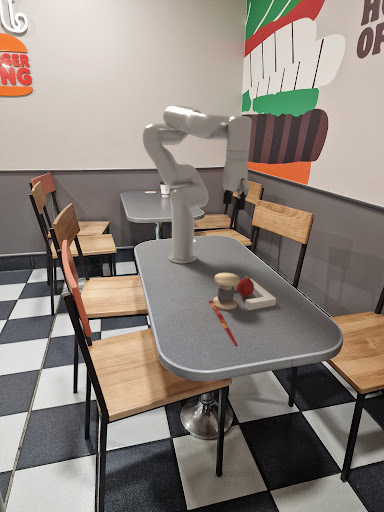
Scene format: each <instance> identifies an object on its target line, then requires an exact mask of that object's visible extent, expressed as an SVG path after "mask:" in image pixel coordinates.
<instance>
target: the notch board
mask: <svg viewBox="0 0 384 512" xmlns="http://www.w3.org/2000/svg"><path fill="white" fill-rule="evenodd" d="M249 279H250V280H251V281H252V282H253V285H254V291H253V293H252V294H253V296H254V297H255V298H254V297H252V298H247V299H245V302H244V303H245V304H244V307H245V308H246V309H247V310H248V311H253V310H258V309H264V308H268V307H269V308H270V307H273V306H276V303H277V298H276V297H275V296H274V295H272V294H271V293H270V292H269V291H267V290H266V289H265V288H264V287H262V286H261V285H260V284H258V283H257V282H256V281H255V280H253V279H252V278H249ZM233 287H234V292H235V291H237V285H235V286H233ZM252 294H251V295H252Z"/></svg>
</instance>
